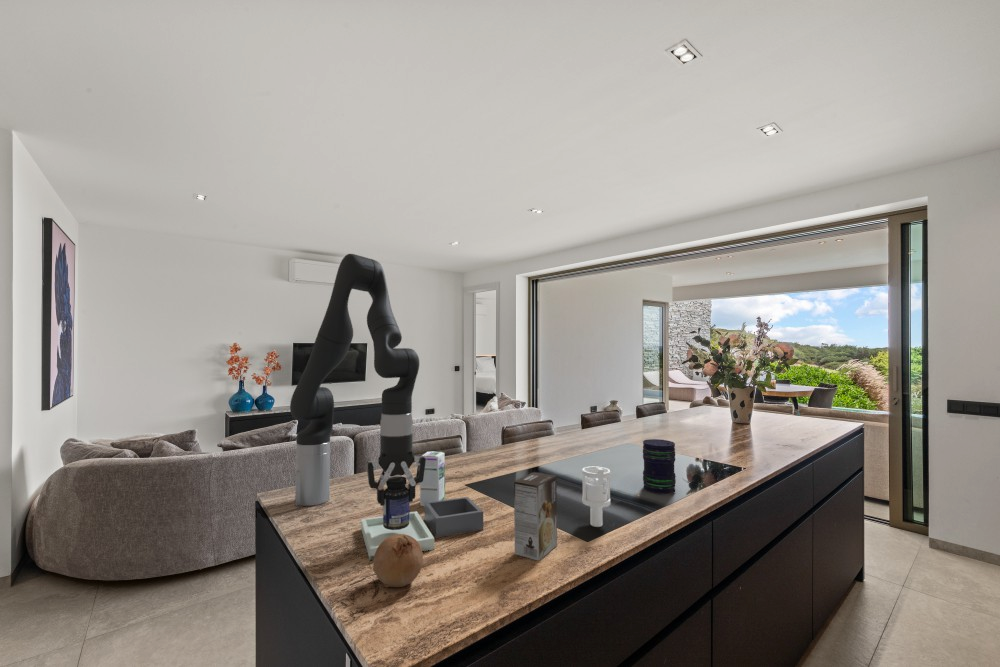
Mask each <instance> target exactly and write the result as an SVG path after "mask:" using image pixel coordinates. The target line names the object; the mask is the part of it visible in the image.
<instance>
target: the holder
mask: <svg viewBox="0 0 1000 667" xmlns="http://www.w3.org/2000/svg"><path fill="white" fill-rule="evenodd" d="M423 507H424V514H423V515H424V516H423V518H424V520H423V521H424V522H425V524H426V525H427V527H428V528H429V527H430V528H429V530H430V531H431V530H432V531H431V533H432V534H433V533H434V534H433V536H434V537H435V536H436V537H437V538H442V537H441V536H443V537H448V535H449V536H454V534H455V535H460V533H461V534H465V533H472V531H473V532H478V530H479V531H484V510H482V509H481V508H480V507H479V505H477V504H476V503H475V501H473V500H472V499H471V498H470V497H468V496H462V497H455V498H449V499H448V498H447V499H445V500H440V501H432V502H425V506H423ZM436 537H435V538H436Z"/></svg>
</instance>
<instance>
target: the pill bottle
mask: <svg viewBox="0 0 1000 667" xmlns="http://www.w3.org/2000/svg"><path fill="white" fill-rule="evenodd" d="M407 483H408V481H407V477H406V476H403V475H395V476H389V478H388V480H387V481H386V483H385V485H386V486H387V488H385V489H384V506H382V516H383V526H384V528H386V529H389V530H400V529H403V528H405V527H407V526H408V525H409V512H410V502H409V489H408V486H407V487H406V485H407Z"/></svg>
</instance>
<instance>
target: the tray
mask: <svg viewBox="0 0 1000 667" xmlns="http://www.w3.org/2000/svg"><path fill="white" fill-rule="evenodd" d="M360 530H361V533H362V537H363V540H364V544H365V547H366V548H365V549H366V552H367V556H368V559H369V561H370V562H373V561H372V560H373V559H374V555H375V552H376V550H377V548H378V547H379V545H380V544H381V543H382V542H383V541H384V540H385V539H386V538H388V537H390V536H392V535H396V534H405V535H409V536H411V537H413V538H414V539H415V540H416V541H417V542H418V543H419V545H420V546H421V549H422V551H424V552H428V550H429V551H434V550H435V536H434V534H433V533H432V531H431V530H430V528H429V527H428V525H427V524H426V522H425V520H423V518H422V517H421V515H420V513H419V512H418V511H409V525H408V526H407V527H405V528H403V529H400V530H389V529H386V528H384V526H383V515H382V516H375V517H368V518H361V520H360ZM433 549H434V550H433Z"/></svg>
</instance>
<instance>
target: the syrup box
mask: <svg viewBox="0 0 1000 667" xmlns="http://www.w3.org/2000/svg"><path fill="white" fill-rule="evenodd" d="M422 456H423V457H424V458H425V459H426V462H425V470H424V478H423V482H421V483H419V499H420V500H419V505H420V507H424V506H425V502H432V501H440V500H446V473H445V472H446V466H445V465H446V464H445V459H446V456H445V452H444V451H433V450H432V451H426V452H425V453H424V454H422Z"/></svg>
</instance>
